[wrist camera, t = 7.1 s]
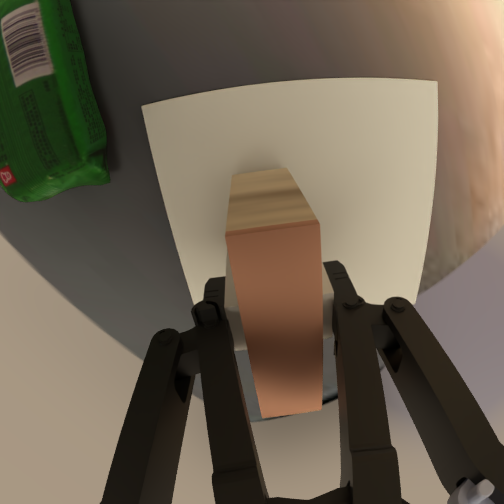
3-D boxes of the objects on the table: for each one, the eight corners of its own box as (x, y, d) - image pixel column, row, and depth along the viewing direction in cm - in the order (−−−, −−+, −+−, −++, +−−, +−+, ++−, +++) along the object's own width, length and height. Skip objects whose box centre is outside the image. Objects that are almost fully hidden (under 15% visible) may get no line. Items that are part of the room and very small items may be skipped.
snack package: (76, -44, 11) (33, -64, 6) (131, 168, 19) (99, 201, 14) (-5, 9, 11) (-54, 8, 7) (47, 198, 19) (8, 234, 15)
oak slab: (231, 175, 17) (225, 236, 10) (287, 167, 17) (320, 223, 10) (255, 320, 22) (262, 418, 15) (299, 314, 22) (321, 409, 15)
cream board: (143, 105, 17) (141, 106, 16) (434, 80, 16) (437, 81, 16) (204, 333, 26) (204, 336, 26) (413, 300, 25) (415, 303, 25)
